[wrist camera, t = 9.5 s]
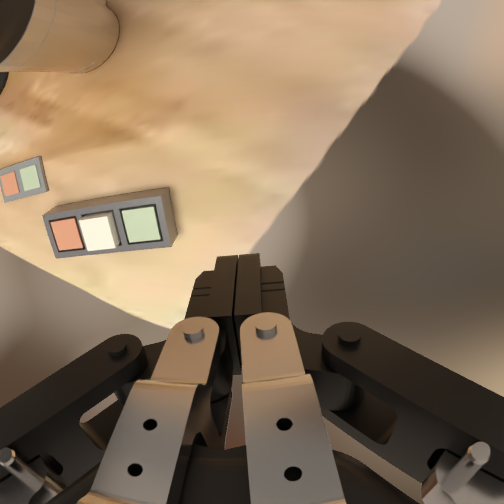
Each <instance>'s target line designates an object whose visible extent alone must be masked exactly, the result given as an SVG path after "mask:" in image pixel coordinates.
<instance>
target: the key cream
mask: <svg viewBox="0 0 504 504" xmlns="http://www.w3.org/2000/svg"><path fill="white" fill-rule="evenodd" d="M79 223H80V227H81V230H82V234H83V237H84V241H85V244H86V247H87V250H88V251H94V250H103V249H113V248H116V247H117V246H118V245H119V243H120V242H121V239H120V236H119V232H118V228H117V224H116V220H115V216H114V212H113V210H107V211H101V212H95V213H88V214H86V215H85V216H84V217H83V218H81V219H80V220H79Z"/></svg>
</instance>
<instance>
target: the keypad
mask: <svg viewBox="0 0 504 504" xmlns="http://www.w3.org/2000/svg"><path fill="white" fill-rule="evenodd" d="M149 204H156V208H157V213H158V218H159V223H160V228H161V232H162V238H161V239H159V240H150V241H140V242H131V243H129V239H128V235H127V231H126V227H125V223H124V219H123V215H122V210H123V209H124V208H127V207H134V206H142V205H149ZM107 210H113V212H114V216H115V220H116V224H117V228H118V232H119V236H120V239H121V242H120V243H119V245H118V246H117V247H116V248H113V249H103V250H94V251H88V250H87V247H86V244H85V241H84V237H83V234H82V230H81V227H80V223H79V220H80V219H81V218H83V217H84V216H85V215H86V214H88V213H95V212H101V211H107ZM42 216H43V220H44V223H45V226H46V230H47V233H48V236H49V239H50V242H51V245H52V248H53V251H54V254H55V257H56V258H65V257H74V256H84V255H94V254H103V253H113V252H123V251H134V250H144V249H154V248H165V247H172V245H173V243H174V241H175V239H176V237H177V230H176V225H175V220H174V214H173V209H172V204H171V198H170V193H169V187H168V188H161V189H154V190H147V191H140V192H134V193H127V194H121V195H115V196H109V197H103V198H98V199H92V200H86V201H81V202H76V203H70V204H65V205H60V206H55V207H54V208H53V209H51V210H50V211H48V212H47V213H45V214H44V215H42ZM71 216H76V218H77V222H78V225H79V229H80V232H81V236H82V239H83V242H84V247H83V248H77V249H68V250H60V251H59V248H58V245H57V242H56V239H55V236H54V233H53V229H52V226H51V223H50V222H52V221H53V220H54V219H59V218H65V217H71Z"/></svg>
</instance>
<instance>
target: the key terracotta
mask: <svg viewBox="0 0 504 504" xmlns="http://www.w3.org/2000/svg"><path fill="white" fill-rule="evenodd" d="M50 223H51V226H52V229H53V233H54V236H55V239H56V242H57V245H58V248H59V251H60V250H68V249H77V248H83V247H84V242H83V239H82V236H81V232H80V229H79V225H78V222H77V218H76V216H71V217H65V218H59V219H54V220H53V221H52V222H50Z"/></svg>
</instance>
